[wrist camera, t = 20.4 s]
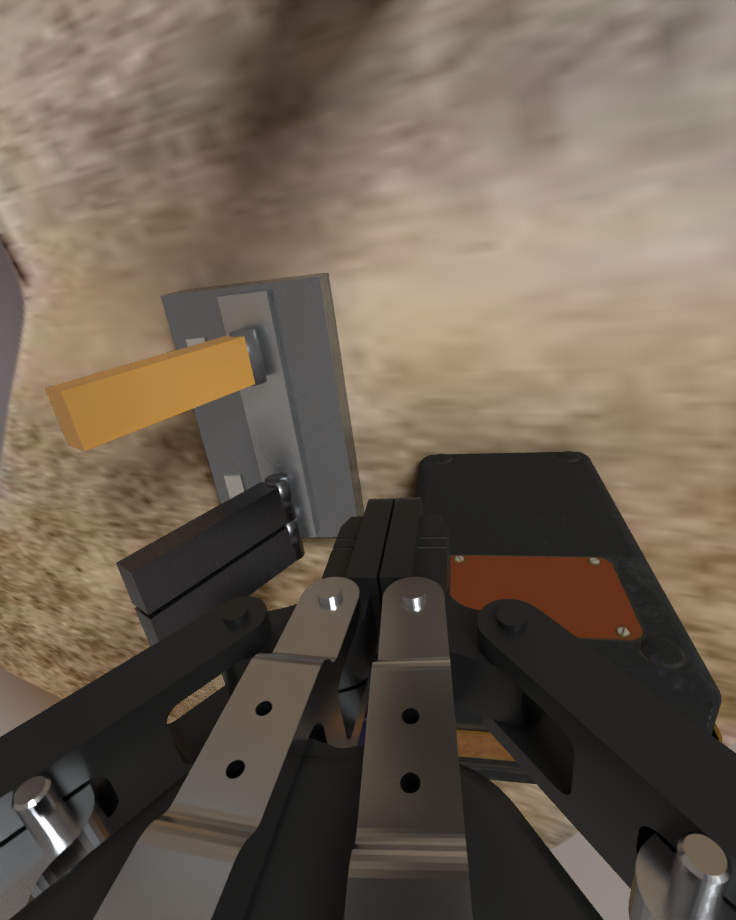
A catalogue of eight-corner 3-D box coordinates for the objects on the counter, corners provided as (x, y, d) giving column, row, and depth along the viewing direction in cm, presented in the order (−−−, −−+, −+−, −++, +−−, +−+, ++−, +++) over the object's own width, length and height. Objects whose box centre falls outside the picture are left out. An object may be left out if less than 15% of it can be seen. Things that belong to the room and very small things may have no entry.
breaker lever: (243, 327, 39) (43, 384, 29) (262, 328, 37) (59, 388, 27) (255, 377, 40) (69, 448, 30) (273, 379, 39) (86, 454, 29)
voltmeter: (417, 527, 49) (387, 788, 26) (412, 446, 45) (371, 671, 23) (587, 528, 46) (713, 821, 24) (597, 442, 42) (756, 693, 20)
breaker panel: (170, 292, 42) (4, 336, 27) (328, 272, 39) (246, 309, 24) (236, 526, 52) (142, 658, 36) (366, 523, 49) (325, 665, 34)
